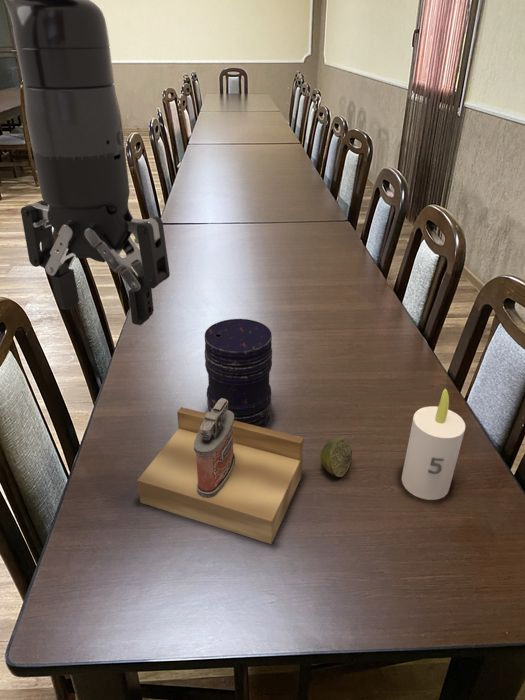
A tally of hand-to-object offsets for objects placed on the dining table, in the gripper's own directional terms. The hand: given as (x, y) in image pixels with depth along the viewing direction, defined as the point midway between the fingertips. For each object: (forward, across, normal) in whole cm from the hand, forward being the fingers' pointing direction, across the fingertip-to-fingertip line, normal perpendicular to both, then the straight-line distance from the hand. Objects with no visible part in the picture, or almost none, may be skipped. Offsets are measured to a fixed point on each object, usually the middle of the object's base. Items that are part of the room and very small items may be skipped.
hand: (105, 313), depth 54 cm
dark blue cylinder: (+28, +5, +22) cm, 36 cm away
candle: (+28, +34, +18) cm, 48 cm away
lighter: (+24, +9, +6) cm, 26 cm away
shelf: (+28, +9, +7) cm, 30 cm away
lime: (+28, +22, +16) cm, 39 cm away
